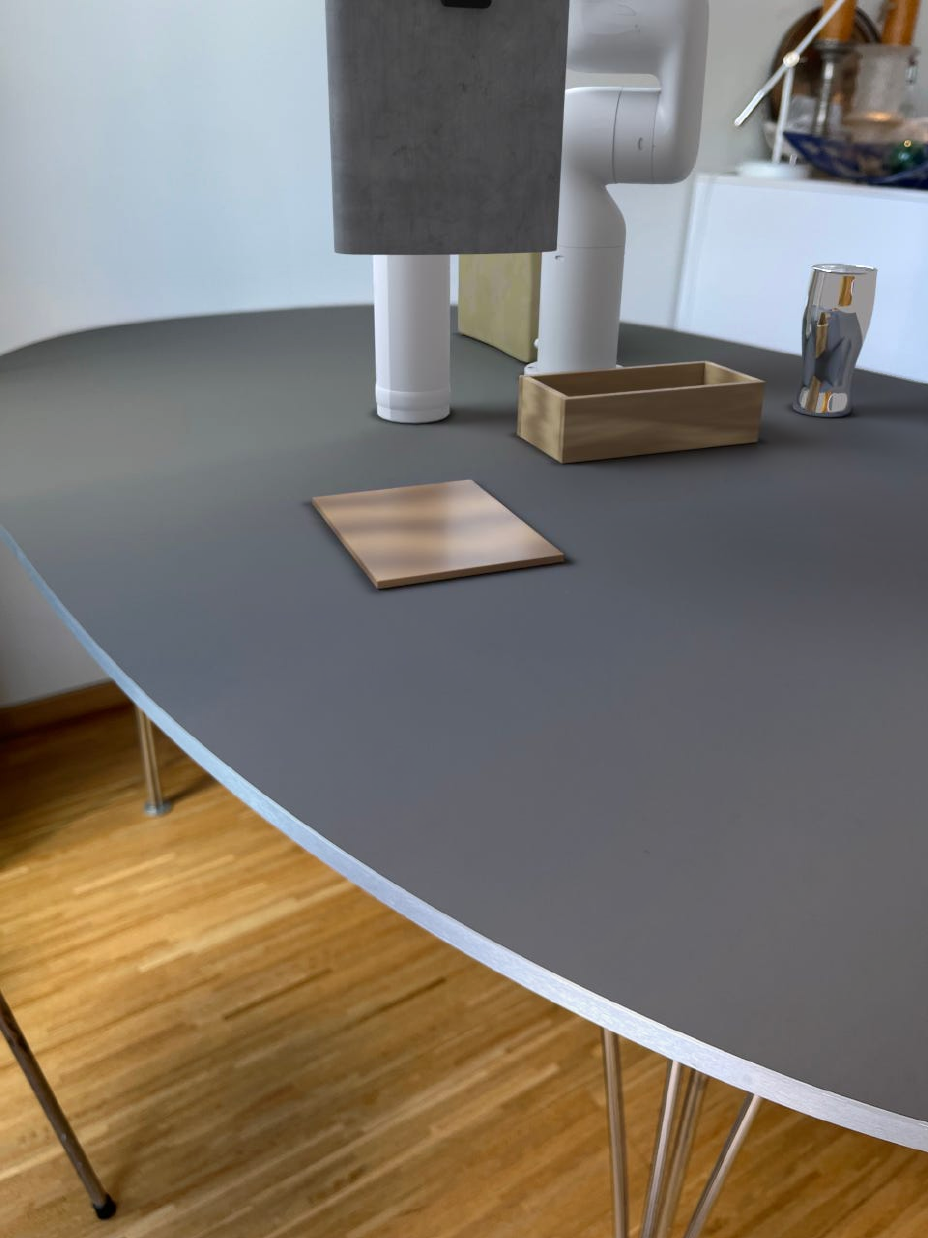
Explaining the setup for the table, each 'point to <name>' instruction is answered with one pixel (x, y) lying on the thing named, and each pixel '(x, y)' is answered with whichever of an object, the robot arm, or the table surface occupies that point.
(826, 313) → the beer glass
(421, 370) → the bottle
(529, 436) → the box
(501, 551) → the wooden mat
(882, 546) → the table surface
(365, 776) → the table surface
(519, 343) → the cheese
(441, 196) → the hip flask
